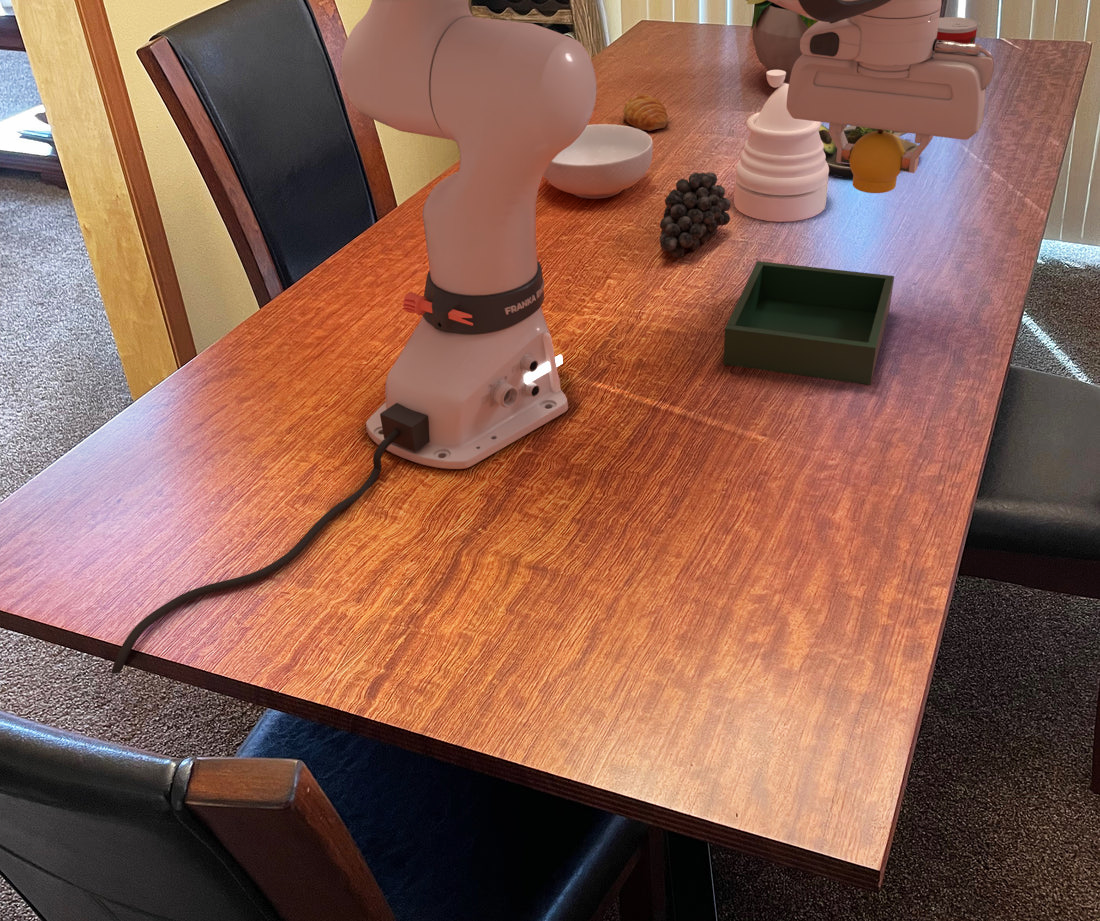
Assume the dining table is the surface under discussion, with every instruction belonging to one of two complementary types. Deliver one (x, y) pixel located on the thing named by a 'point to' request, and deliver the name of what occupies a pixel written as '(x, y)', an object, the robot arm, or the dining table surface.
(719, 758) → the dining table surface
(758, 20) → the flower arrangement
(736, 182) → the honey pot
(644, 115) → the pastry
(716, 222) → the fruit
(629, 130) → the cereal bowl
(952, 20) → the canned food
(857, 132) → the salad plate
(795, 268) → the crate
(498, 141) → the robot arm
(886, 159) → the orange
